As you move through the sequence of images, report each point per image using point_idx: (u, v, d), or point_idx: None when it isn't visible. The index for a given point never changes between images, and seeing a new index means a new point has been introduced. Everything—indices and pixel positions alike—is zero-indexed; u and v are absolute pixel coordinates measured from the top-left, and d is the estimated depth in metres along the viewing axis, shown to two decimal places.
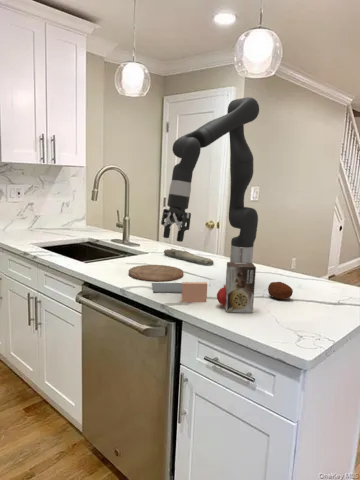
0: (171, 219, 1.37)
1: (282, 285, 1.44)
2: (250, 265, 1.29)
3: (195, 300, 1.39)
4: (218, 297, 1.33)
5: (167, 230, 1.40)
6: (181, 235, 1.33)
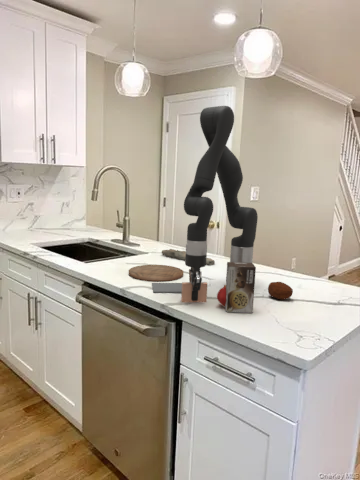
0: None
1: (282, 285, 1.44)
2: (250, 265, 1.29)
3: None
4: (218, 297, 1.33)
5: None
6: (194, 295, 1.37)
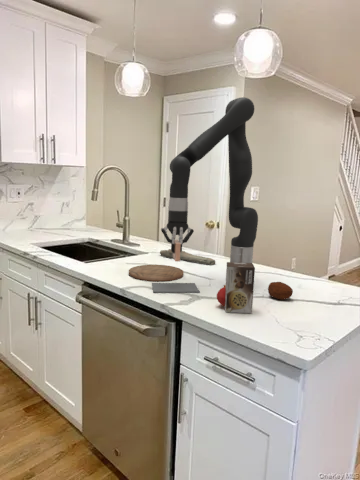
0: None
1: (282, 285, 1.44)
2: (249, 265, 1.28)
3: (174, 256, 1.52)
4: (218, 297, 1.33)
5: None
6: (171, 247, 1.52)
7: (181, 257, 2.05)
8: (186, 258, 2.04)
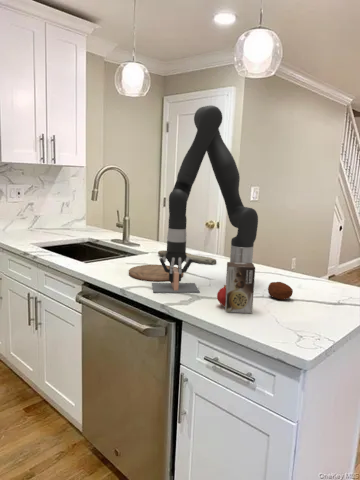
0: None
1: (282, 285, 1.44)
2: (250, 265, 1.28)
3: (172, 285, 1.53)
4: (218, 297, 1.33)
5: None
6: (169, 276, 1.53)
7: None
8: None
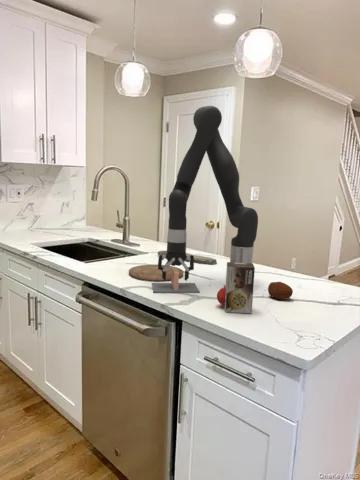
0: None
1: (282, 285, 1.44)
2: (249, 265, 1.28)
3: (172, 285, 1.53)
4: (218, 297, 1.33)
5: (185, 273, 1.54)
6: (162, 274, 1.53)
7: None
8: (187, 258, 2.03)
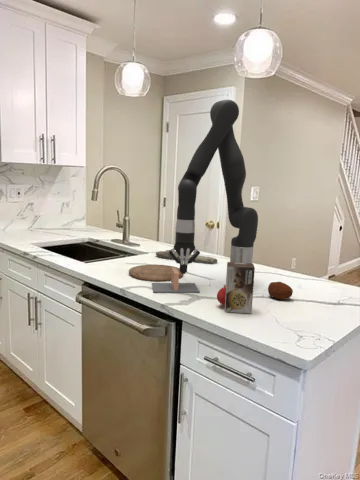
0: None
1: (282, 285, 1.44)
2: (249, 265, 1.28)
3: (172, 285, 1.53)
4: (218, 297, 1.33)
5: None
6: None
7: None
8: None
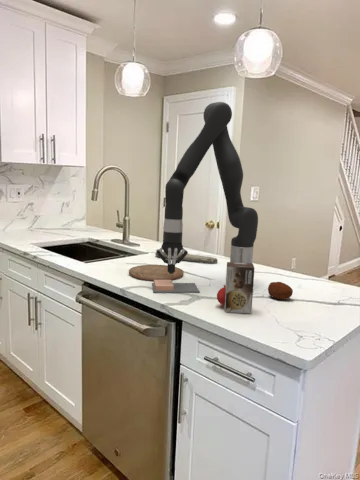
0: None
1: (282, 285, 1.44)
2: (249, 265, 1.28)
3: None
4: (217, 297, 1.33)
5: None
6: None
7: None
8: (188, 258, 2.03)
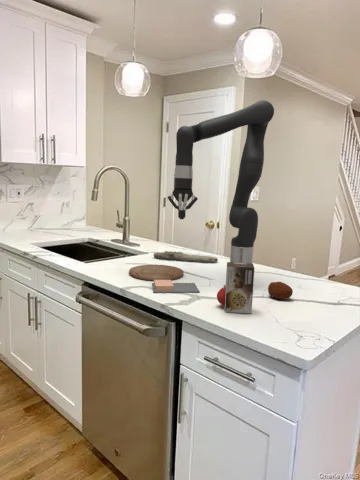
0: None
1: (282, 285, 1.44)
2: (249, 265, 1.28)
3: None
4: (218, 297, 1.33)
5: None
6: (178, 213, 1.60)
7: (182, 258, 2.03)
8: (188, 259, 2.03)
